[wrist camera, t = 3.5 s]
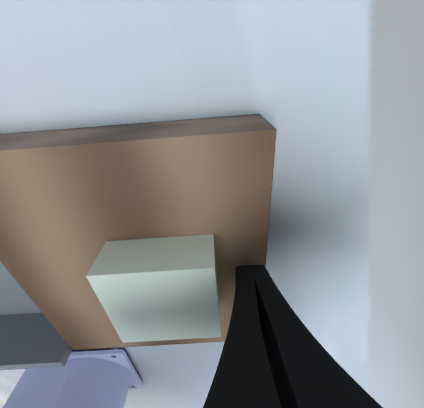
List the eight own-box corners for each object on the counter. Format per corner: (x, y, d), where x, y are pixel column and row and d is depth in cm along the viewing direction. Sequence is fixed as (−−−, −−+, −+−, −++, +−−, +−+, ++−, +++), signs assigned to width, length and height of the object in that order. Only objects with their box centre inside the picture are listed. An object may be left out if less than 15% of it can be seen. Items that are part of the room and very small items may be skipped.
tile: (133, 306, 13) (122, 342, 11) (105, 241, 10) (86, 276, 8) (219, 301, 13) (221, 337, 11) (213, 234, 10) (214, 267, 8)
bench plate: (91, 309, 18) (72, 349, 15) (-14, 135, 10) (-85, 156, 8) (251, 300, 18) (259, 339, 15) (259, 113, 10) (276, 129, 8)
